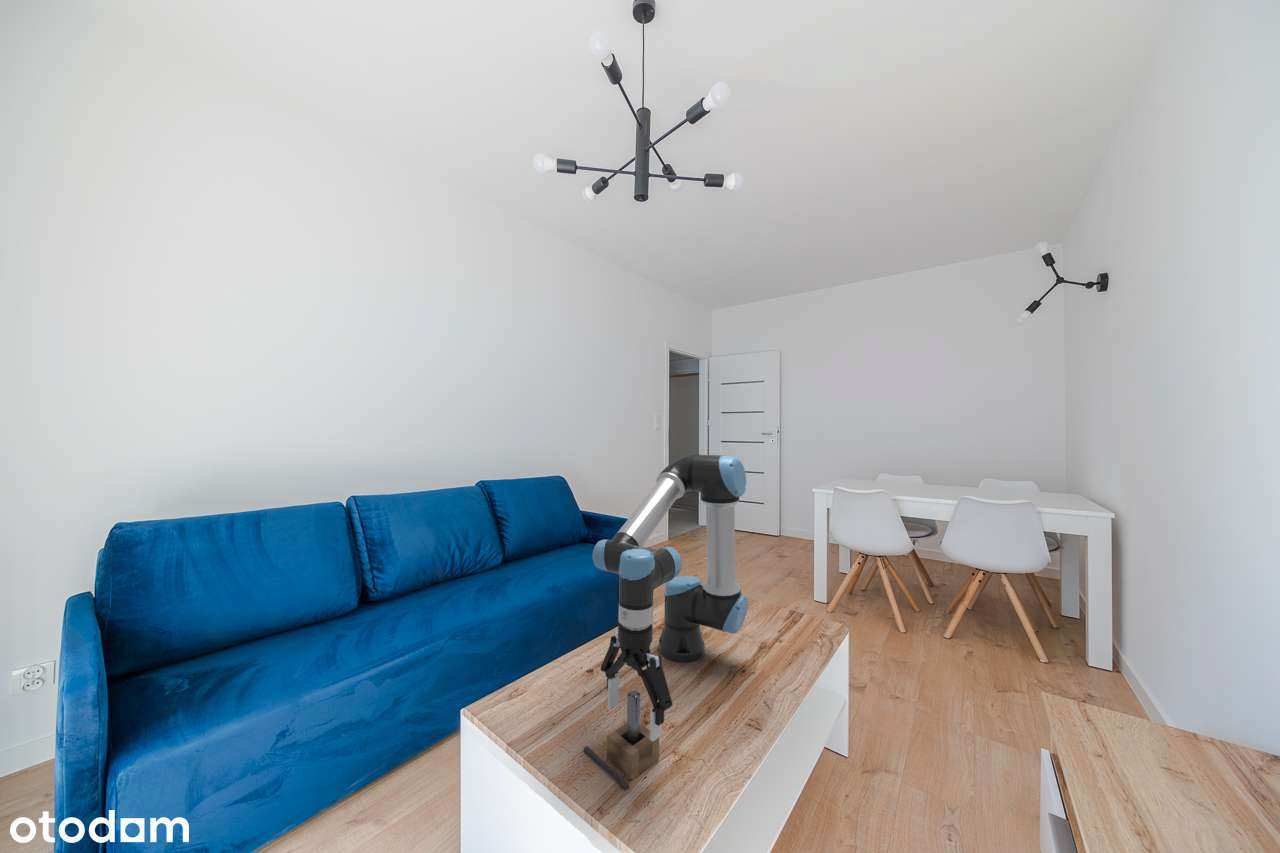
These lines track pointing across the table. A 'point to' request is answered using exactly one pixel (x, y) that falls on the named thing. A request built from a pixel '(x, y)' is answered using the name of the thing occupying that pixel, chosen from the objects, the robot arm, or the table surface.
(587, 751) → the dark grey rod
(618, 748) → the bead block
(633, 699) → the dark grey peg
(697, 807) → the table surface
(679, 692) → the table surface
